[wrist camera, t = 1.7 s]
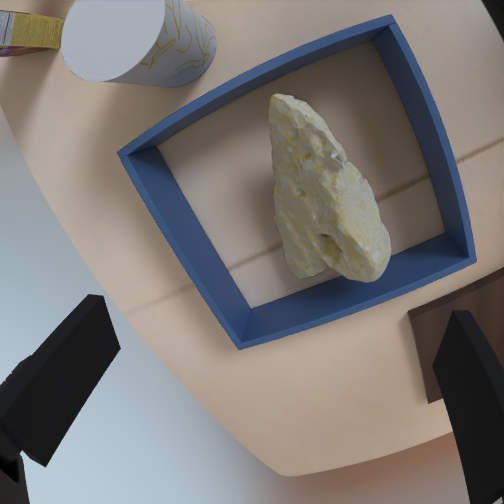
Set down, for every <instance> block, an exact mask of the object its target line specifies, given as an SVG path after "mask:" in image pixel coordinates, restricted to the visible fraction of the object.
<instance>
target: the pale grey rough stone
mask: <svg viewBox="0 0 504 504" xmlns="http://www.w3.org/2000/svg"><path fill="white" fill-rule="evenodd" d="M267 117H268V122H269V126H270V137H271V144H272V161H273V171H274V174H275V177H276V180H275V183H274V191H273V196H274V210H275V216H274V220H275V223H276V226H277V230H278V231H279V233H280V235H281V238H282V244H283V253H284V256H285V260H286V263H287V265H288V268H289V269H290V270H291V271H292V273H293V274H294V276H295V277H297V278H301V279H304V278H307V277H312V276H315V275H317V274H319V273H320V272H323V271H324V270H325V269H326V268H327V267H328V266H329V267H331V268H332V269H334V270H335V271H337V272H339V273H340V274H342V275H343V276H344V277H346V278H347V279H351V280H357V281H362V282H366V283H367V282H373V281H375V280H377V279H378V278H379V277H380V276H381V275H382V274H383V272H384V271H385V269H386V267H387V264H388V262H389V259H390V255H391V245H390V244H391V242H390V237H389V233H388V231H387V229H386V227H385V226H384V224H383V223H382V221H381V220H380V215H379V208H378V206H377V204H376V201H375V198H374V194H373V190H372V188H371V186H370V185H369V183H368V181H367V180H366V179H365V178H362V175H361V174H360V172H359V171H358V169H357V168H356V167H355V166H354V165H353V164H352V163H350V162H347V155H346V153H345V151H344V149H343V147H342V145H341V144H340V143H339V142H338V141H337V140H336V139H335V138H334V136H333V134H332V133H331V132H330V130H329V128H328V126H327V124H326V123H325V121H324V120H323V118H322V117H321V116H319V115H318V114H317V113H316V112H315V111H314V110H313V109H312V108H311V107H310V106H309V105H308V104H307V103H306V102H304V101H301V100H297V99H294V97H293V96H292V95H283V94H279V93H277V94H274V95H273V96H272V97H271V98H270V101H269V110H268V115H267Z"/></svg>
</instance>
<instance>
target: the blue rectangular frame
mask: <svg viewBox="0 0 504 504" xmlns="http://www.w3.org/2000/svg"><path fill="white" fill-rule="evenodd" d="M369 41H373V43H374V45H375V47H376V48H377V50H378V52H379V54H380V56H381V58H382V60H383V62H384V64H385V66H386V68H387V70H388V72H389V74H390V76H391V78H392V80H393V82H394V84H395V87H396V89H397V91H398V93H399V95H400V98H401V100H402V102H403V104H404V107H405V109H406V112H407V114H408V116H409V119H410V121H411V124H412V126H413V129H414V131H415V134H416V137H417V139H418V142H419V145H420V148H421V150H422V153H423V156H424V159H425V162H426V165H427V168H428V171H429V174H430V177H431V181H432V184H433V187H434V191H435V194H436V197H437V201H438V205H439V208H440V212H441V216H442V220H443V224H444V228H445V232H446V233H445V234H443V235H440V236H438V237H436V238H433V239H431V240H429V241H426V242H424V243H422V244H419V245H417V246H415V247H412V248H410V249H408V250H405V251H403V252H400V253H398V254H396V255H393V256H391V257H390V259H389V262H388V264H387V267H386V269H385V271H384V272H383V274H382V275H381V276H380V277H379V278H378V279H377V280H375V281H373V282H367V283H366V282H362V281H357V280H351V279H347V278H346V277H344V276H340V277H338V278H335V279H333V280H330V281H327V282H325V283H322V284H319V285H317V286H314V287H311V288H309V289H306V290H303V291H300V292H298V293H295V294H292V295H289V296H287V297H284V298H281V299H278V300H275V301H273V302H270V303H267V304H264V305H261V306H258V307H255V308H253V309H250V307H249V305H248V304H247V302H246V300H245V299H244V297H243V295H242V294H241V292H240V290H239V289H238V287H237V285H236V284H235V282H234V280H233V279H232V277H231V275H230V274H229V272H228V270H227V269H226V267H225V265H224V264H223V262H222V260H221V259H220V257H219V255H218V254H217V252H216V250H215V248H214V247H213V245H212V243H211V242H210V240H209V238H208V237H207V235H206V233H205V231H204V230H203V228H202V226H201V225H200V223H199V221H198V219H197V218H196V216H195V214H194V212H193V211H192V209H191V207H190V205H189V204H188V202H187V200H186V198H185V197H184V195H183V193H182V191H181V190H180V188H179V186H178V184H177V183H176V181H175V179H174V177H173V176H172V174H171V172H170V170H169V168H168V167H167V165H166V163H165V161H164V159H163V158H162V156H161V154H160V152H159V150H158V149H157V147H156V146H157V145H158V144H160V143H162V142H163V141H165V140H166V139H168V138H169V137H171V136H173V135H174V134H176V133H177V132H179V131H181V130H182V129H184V128H186V127H187V126H189V125H191V124H192V123H194V122H196V121H197V120H199V119H201V118H203V117H204V116H206V115H208V114H210V113H211V112H213V111H215V110H217V109H219V108H220V107H222V106H224V105H226V104H228V103H230V102H231V101H233V100H235V99H237V98H239V97H241V96H243V95H245V94H247V93H249V92H251V91H253V90H255V89H257V88H259V87H261V86H263V85H265V84H267V83H269V82H271V81H273V80H275V79H277V78H279V77H282V76H284V75H286V74H288V73H290V72H293V71H295V70H297V69H299V68H302V67H304V66H306V65H309V64H311V63H313V62H316V61H318V60H321V59H323V58H326V57H328V56H331V55H333V54H336V53H338V52H341V51H344V50H346V49H349V48H352V47H354V46H357V45H360V44H363V43H366V42H369ZM117 154H118V156H119V158H120V159H121V162H122V164H123V166H124V167H125V169H126V171H127V173H128V175H129V176H130V178H131V180H132V182H133V184H134V185H135V187H136V189H137V191H138V192H139V194H140V196H141V198H142V199H143V201H144V203H145V204H146V206H147V208H148V210H149V211H150V213H151V215H152V216H153V218H154V220H155V221H156V223H157V225H158V226H159V228H160V230H161V231H162V233H163V235H164V236H165V238H166V240H167V241H168V243H169V245H170V246H171V248H172V249H173V251H174V253H175V254H176V256H177V258H178V259H179V261H180V262H181V264H182V266H183V267H184V269H185V270H186V272H187V273H188V275H189V277H190V278H191V280H192V281H193V283H194V284H195V286H196V287H197V289H198V291H199V292H200V294H201V295H202V297H203V298H204V300H205V301H206V303H207V304H208V306H209V307H210V309H211V310H212V312H213V313H214V315H215V316H216V318H217V319H218V321H219V322H220V324H221V325H222V327H223V328H224V330H225V331H226V333H227V334H228V336H229V337H230V338H231V340H232V341H233V343H234V344H235V346H236V347H237V348H238V350H241V349H245V348H248V347H252V346H255V345H259V344H262V343H265V342H269V341H272V340H275V339H279V338H282V337H285V336H288V335H292V334H295V333H298V332H301V331H304V330H307V329H310V328H313V327H316V326H319V325H322V324H325V323H328V322H331V321H334V320H337V319H339V318H342V317H345V316H348V315H351V314H353V313H356V312H359V311H362V310H364V309H367V308H370V307H372V306H375V305H377V304H380V303H383V302H385V301H388V300H390V299H393V298H395V297H398V296H400V295H403V294H405V293H408V292H410V291H413V290H415V289H417V288H420V287H422V286H425V285H427V284H429V283H432V282H434V281H436V280H438V279H441V278H443V277H445V276H447V275H450V274H452V273H454V272H456V271H458V270H461V269H463V268H465V267H467V266H469V265H471V264H473V263H476V262H477V259H476V252H475V246H474V240H473V234H472V229H471V223H470V218H469V214H468V209H467V204H466V200H465V196H464V192H463V188H462V184H461V180H460V176H459V173H458V169H457V166H456V162H455V159H454V155H453V152H452V149H451V146H450V143H449V140H448V137H447V134H446V131H445V128H444V125H443V122H442V120H441V117H440V114H439V112H438V109H437V107H436V104H435V101H434V99H433V97H432V94H431V92H430V89H429V87H428V85H427V82H426V80H425V78H424V76H423V73H422V71H421V69H420V67H419V65H418V63H417V61H416V59H415V57H414V55H413V53H412V51H411V49H410V47H409V45H408V43H407V41H406V39H405V37H404V35H403V33H402V32H401V30H400V28H399V26H398V24H397V23H396V21H395V19H394V18H393V16H392V15H391V14H390V15H387V16H383V17H380V18H377V19H373V20H370V21H367V22H364V23H361V24H358V25H355V26H352V27H349V28H346V29H344V30H341V31H338V32H335V33H333V34H330V35H327V36H325V37H322V38H320V39H317V40H315V41H312V42H310V43H307V44H305V45H302V46H300V47H298V48H295V49H293V50H291V51H289V52H286V53H284V54H282V55H280V56H277V57H275V58H273V59H271V60H269V61H267V62H265V63H263V64H261V65H259V66H257V67H255V68H252V69H251V70H249V71H247V72H245V73H243V74H241V75H239V76H237V77H235V78H233V79H231V80H229V81H228V82H226V83H224V84H222V85H220V86H218V87H217V88H215V89H213V90H211V91H210V92H208V93H206V94H204V95H203V96H201V97H199V98H197V99H196V100H194V101H192V102H191V103H189V104H187V105H186V106H184V107H183V108H181V109H179V110H178V111H176V112H175V113H173V114H171V115H170V116H168V117H167V118H165V119H164V120H162V121H161V122H159V123H158V124H156V125H155V126H153V127H152V128H150V129H149V130H147V131H146V132H144V133H143V134H141V135H140V136H139V137H137V138H136V139H134V140H133V141H131V142H130V143H129V144H127V145H126V146H125V147H123V148H122V149H120V150H119V151H118V152H117Z"/></svg>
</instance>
